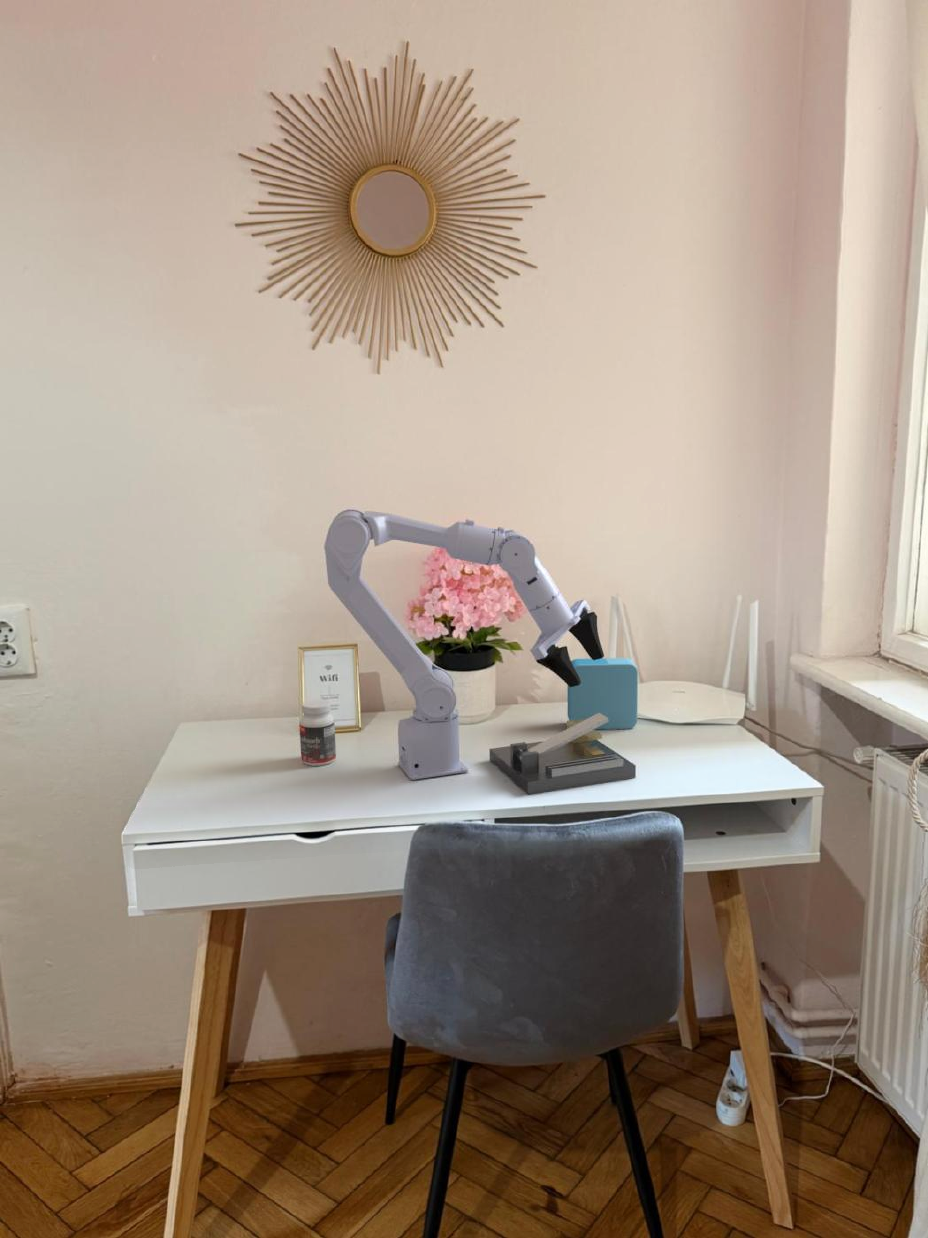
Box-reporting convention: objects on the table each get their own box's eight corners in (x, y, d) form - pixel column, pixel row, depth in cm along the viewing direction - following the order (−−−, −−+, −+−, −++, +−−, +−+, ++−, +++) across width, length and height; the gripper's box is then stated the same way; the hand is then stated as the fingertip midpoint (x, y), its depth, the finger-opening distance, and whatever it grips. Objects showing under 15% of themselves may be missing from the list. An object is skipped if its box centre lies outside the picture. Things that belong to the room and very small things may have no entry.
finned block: (527, 794, 149) (527, 763, 148) (489, 760, 164) (489, 731, 163) (635, 777, 155) (635, 746, 154) (589, 746, 169) (589, 717, 168)
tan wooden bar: (525, 767, 153) (522, 759, 153) (518, 761, 156) (515, 753, 155) (609, 723, 157) (607, 715, 156) (601, 718, 159) (598, 710, 159)
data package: (633, 721, 182) (634, 657, 180) (637, 729, 178) (638, 663, 175) (567, 722, 182) (567, 658, 180) (569, 730, 178) (569, 665, 175)
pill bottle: (294, 764, 164) (290, 706, 162) (315, 753, 169) (311, 696, 167) (323, 769, 162) (319, 710, 160) (343, 758, 167) (340, 700, 165)
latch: (586, 753, 160) (586, 734, 159) (566, 739, 167) (566, 721, 166) (603, 750, 161) (603, 731, 160) (583, 737, 168) (583, 718, 167)
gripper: (537, 619, 149) (583, 693, 152) (584, 571, 158) (627, 641, 161) (505, 629, 154) (550, 700, 157) (553, 582, 163) (595, 650, 166)
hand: (587, 671), depth 159 cm, fingers open, 7 cm apart
